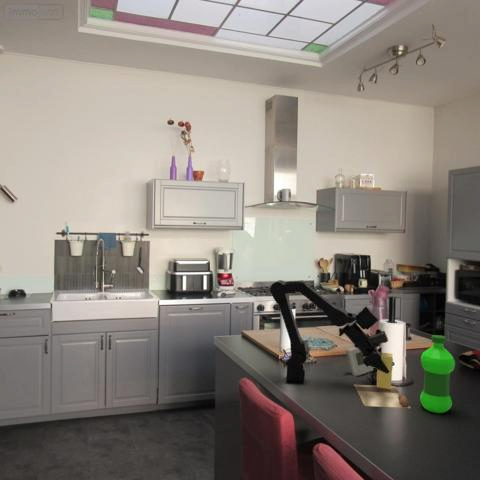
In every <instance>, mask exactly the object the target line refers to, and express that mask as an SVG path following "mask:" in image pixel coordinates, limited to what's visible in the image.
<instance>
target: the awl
mask: <svg viewBox="0 0 480 480" xmlns="http://www.w3.org/2000/svg"><path fill="white" fill-rule="evenodd" d="M399 393H400V391H398V392H397V394H398V395H399V397H398V399H399V401H400V402H401V404H402V405H403V406H404V407H408V406H410V401H409V400H408V399H407V398H406V396H405V395H404V394H401V393H400V394H401V395H400V394H399Z"/></svg>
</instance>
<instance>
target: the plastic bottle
mask: <svg viewBox="0 0 480 480" xmlns="http://www.w3.org/2000/svg"><path fill="white" fill-rule="evenodd" d="M446 338H447V337H446V336H445V335H440V334H439V335H438V334H433V335H431V342H432V346H431V347H429V348H428V349H426V350H425V351H423V352H422V354H421V356H420V363H421V367H422V368H423V370H424V372H423V374H424V376H423V389H422V392H421V393H420V396H419V399H420V402H421V405H422V407H423V409H425V410H426V411H428V412H430V413H435V414H444V413H446V412H448V411H449V410H450V409H451V408H452V405H453V401H452V398H451V395H450V388H451V387H450V385H451V384H450V382H451V381H450V380H451V373H452V372H453V371H454V370H455V367H456V361H455V359H454V357H453V355H452V354H451V353H450V352H449V350H447V349H446V348H445V347H444V345H445V344H446V340H447V339H446Z"/></svg>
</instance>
